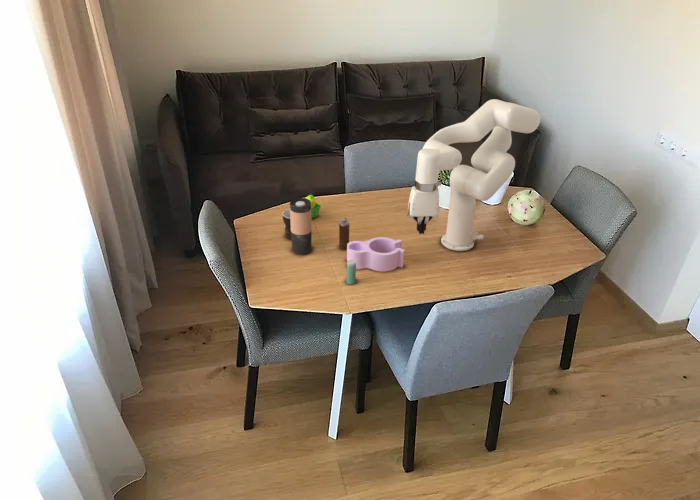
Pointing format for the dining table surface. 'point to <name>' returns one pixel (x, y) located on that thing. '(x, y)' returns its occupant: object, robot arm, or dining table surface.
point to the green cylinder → (351, 272)
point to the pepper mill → (343, 234)
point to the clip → (376, 254)
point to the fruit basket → (313, 206)
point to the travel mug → (301, 225)
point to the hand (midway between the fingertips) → (420, 232)
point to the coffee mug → (287, 223)
